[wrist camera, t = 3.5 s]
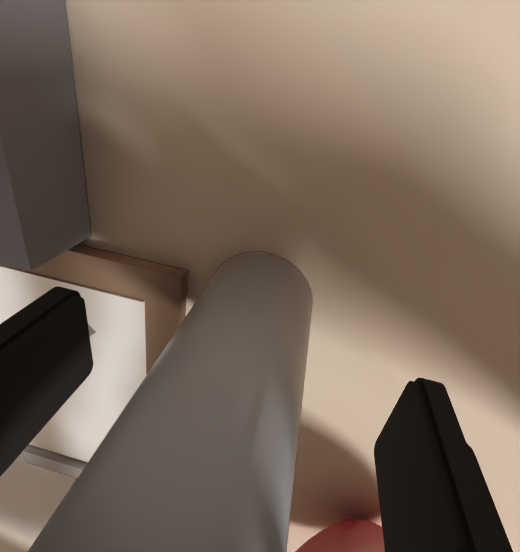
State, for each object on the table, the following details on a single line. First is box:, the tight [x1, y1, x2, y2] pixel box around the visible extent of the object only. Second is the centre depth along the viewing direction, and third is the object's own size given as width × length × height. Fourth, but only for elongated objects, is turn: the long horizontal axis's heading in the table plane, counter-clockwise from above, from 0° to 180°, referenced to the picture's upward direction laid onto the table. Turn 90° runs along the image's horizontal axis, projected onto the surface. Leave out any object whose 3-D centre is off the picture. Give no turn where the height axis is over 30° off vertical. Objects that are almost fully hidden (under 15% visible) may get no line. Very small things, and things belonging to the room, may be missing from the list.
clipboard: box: [0, 244, 187, 478], centre depth 17 cm, size 14×16×1 cm
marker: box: [28, 252, 313, 552], centre depth 8 cm, size 4×4×12 cm
